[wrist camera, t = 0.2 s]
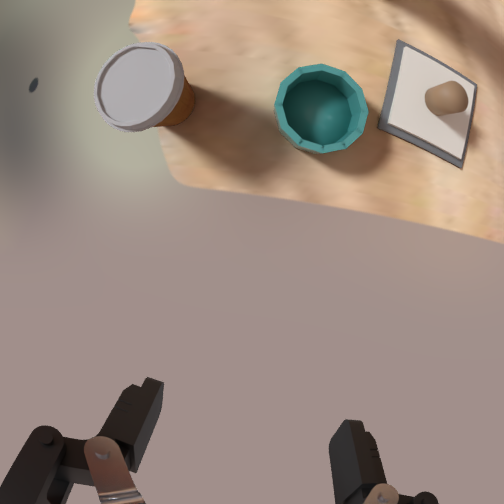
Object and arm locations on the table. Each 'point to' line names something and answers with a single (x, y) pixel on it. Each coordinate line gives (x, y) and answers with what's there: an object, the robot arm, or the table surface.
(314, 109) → the bowl
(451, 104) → the lid
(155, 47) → the disposable coffee cup
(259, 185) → the table surface
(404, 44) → the mat
